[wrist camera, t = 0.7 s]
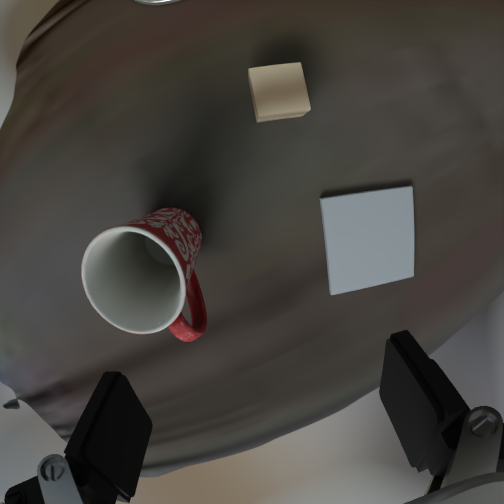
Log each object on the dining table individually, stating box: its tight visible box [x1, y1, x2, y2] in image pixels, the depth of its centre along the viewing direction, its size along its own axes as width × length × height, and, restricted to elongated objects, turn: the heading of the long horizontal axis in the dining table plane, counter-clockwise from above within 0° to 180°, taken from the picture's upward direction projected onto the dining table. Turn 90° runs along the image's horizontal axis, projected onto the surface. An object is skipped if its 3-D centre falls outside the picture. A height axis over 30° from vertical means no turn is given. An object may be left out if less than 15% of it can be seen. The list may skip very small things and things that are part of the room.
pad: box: [320, 186, 414, 295], centre depth 34 cm, size 12×12×1 cm
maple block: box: [248, 62, 311, 123], centre depth 26 cm, size 5×5×5 cm
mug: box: [81, 207, 207, 342], centre depth 28 cm, size 13×9×14 cm
